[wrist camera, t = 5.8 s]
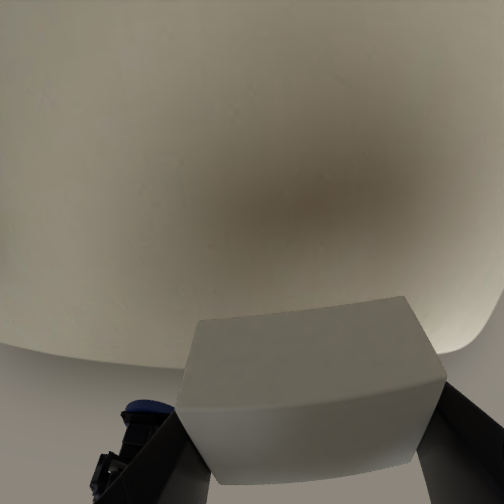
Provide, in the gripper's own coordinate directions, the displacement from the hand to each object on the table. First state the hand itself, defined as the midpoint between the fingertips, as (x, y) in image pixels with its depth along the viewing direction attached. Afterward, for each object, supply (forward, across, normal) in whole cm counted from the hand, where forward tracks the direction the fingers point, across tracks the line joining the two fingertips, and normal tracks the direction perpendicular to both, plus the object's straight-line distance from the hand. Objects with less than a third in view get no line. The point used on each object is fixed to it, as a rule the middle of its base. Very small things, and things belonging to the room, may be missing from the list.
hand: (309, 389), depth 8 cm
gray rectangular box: (+1, 0, 0) cm, 1 cm away
